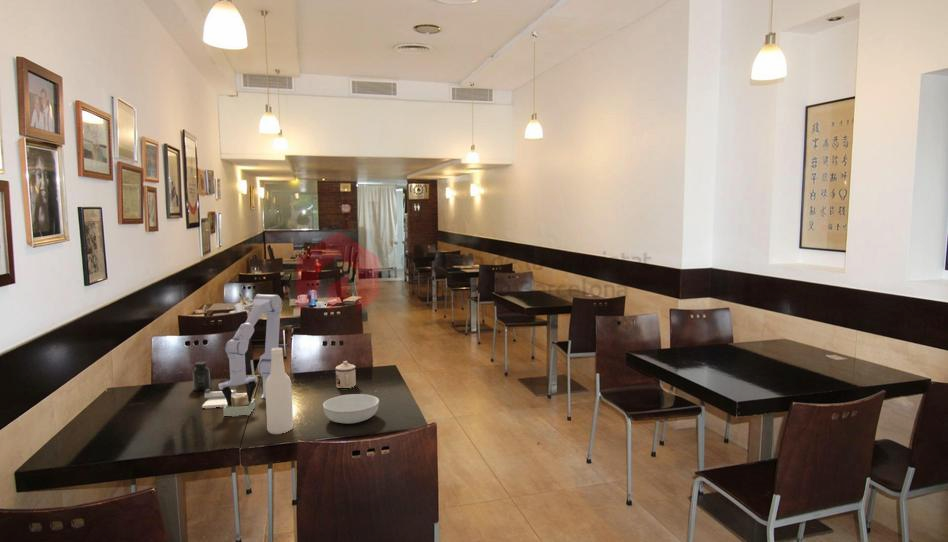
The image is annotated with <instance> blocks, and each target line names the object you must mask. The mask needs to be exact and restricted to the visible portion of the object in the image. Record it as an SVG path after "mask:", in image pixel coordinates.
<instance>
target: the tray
mask: <svg viewBox="0 0 948 542" xmlns="http://www.w3.org/2000/svg"><path fill="white" fill-rule="evenodd" d="M248 405H249V406H242V407H231V406H228V404H226V405H225V407H222V408H223V409H222V410H223V417H224V416H232V417H240V416H239V415H247V416H251V415H250V414H252V413H253V411H254V410H253V409H255V408H256V398H251V401H250V402H249V401H248ZM251 412H252V413H251Z"/></svg>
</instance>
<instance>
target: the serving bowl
mask: <svg viewBox="0 0 948 542" xmlns="http://www.w3.org/2000/svg"><path fill="white" fill-rule="evenodd" d="M379 405H380V399H379V397H376V396H374V395H371V394H364V393H360V394H359V393H357V394H356V393H354V394H353V393H351V394H343V395H339V396H334V397H331V398H328V399H327V400H325V401H324V402H323V404H322V408H323V412H324V415H325V416H326V417H327V418H328V419H329V420H330V421H332V422H334V423H340V424H346V425H347V424H350V425H351V424H357V423H360V422H361V423H362V422H364V421H367V420H368V419H371V418H372V417H373V416H374V415H375V414H376V413H377V411H378V409H379Z"/></svg>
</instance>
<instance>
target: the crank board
mask: <svg viewBox="0 0 948 542" xmlns="http://www.w3.org/2000/svg"><path fill="white" fill-rule="evenodd" d="M241 393H242V392H241ZM241 393H239V392H236V394H241ZM243 393H244V394H246V395H247V392H243ZM226 404H227V400H226V398H225V397H213V398H207V400H206V401H205V402H204V403H203V404H202V406H201V409H202V408H205V409H217V408H216V407H220V408H224V407H225V405H226Z"/></svg>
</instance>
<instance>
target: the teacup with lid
mask: <svg viewBox="0 0 948 542" xmlns="http://www.w3.org/2000/svg"><path fill="white" fill-rule="evenodd" d="M356 368H357V367H356V365H354V364H351V363H348V360H343V362H342V363H341V364H338V365H336V367H335V368H334V370H335V385H336V386H335V387H336V388H337V389H338V388H350V389H352V388H351V387H353V388H355V387H356V386H355V385H357V381H356V380H357V379H356ZM354 386H355V387H354Z"/></svg>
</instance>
